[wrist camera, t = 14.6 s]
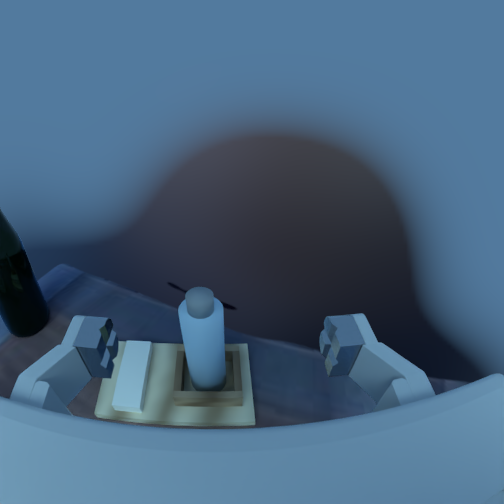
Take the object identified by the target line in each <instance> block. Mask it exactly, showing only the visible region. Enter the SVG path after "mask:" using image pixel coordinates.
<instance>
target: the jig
mask: <svg viewBox="0 0 504 504" xmlns="http://www.w3.org/2000/svg"><path fill="white" fill-rule="evenodd" d="M118 342H119V347H118V354H117V357H115V358H114V359H113V363H114V369H113V373H112V377H111V379H109V378H103V380H102V384H101V388H100V392H99V396H98V400H97V404H96V409H95V415H96V416H97V417H99V418H106V419H113V420H120V421H129V422H138V423H149V424H162V425H180V426H246V425H255V414H254V404H253V395H252V385H251V375H250V366H249V356H248V346H247V344H225V365H226V384H225V386H224V388H223V389H222V390H221V391H197V390H195V389H194V387H193V386H192V383H191V378H190V373H189V368H188V363H187V358H186V353H185V348H184V344H167V343H152V347H153V349H152V354H151V360H150V366H149V372H148V378H147V384H146V391H145V398H144V404H143V412H142V413H136V412H127V411H118V410H115V409H114V408H113V406H112V401H113V397H114V392H115V387H116V383H117V378H118V374H119V370H120V366H121V362H122V358H123V354H124V350H125V346H126V342H124V341H118Z"/></svg>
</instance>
